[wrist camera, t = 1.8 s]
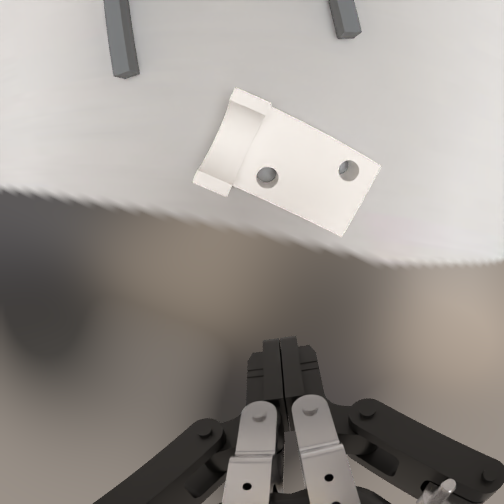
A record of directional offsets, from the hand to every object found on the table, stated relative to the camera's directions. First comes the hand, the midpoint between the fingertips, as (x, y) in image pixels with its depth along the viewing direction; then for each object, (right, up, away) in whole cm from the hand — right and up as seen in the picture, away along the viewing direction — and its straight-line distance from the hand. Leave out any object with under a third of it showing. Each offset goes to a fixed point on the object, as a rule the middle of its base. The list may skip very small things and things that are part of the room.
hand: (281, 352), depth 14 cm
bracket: (+2, +13, +14) cm, 19 cm away
